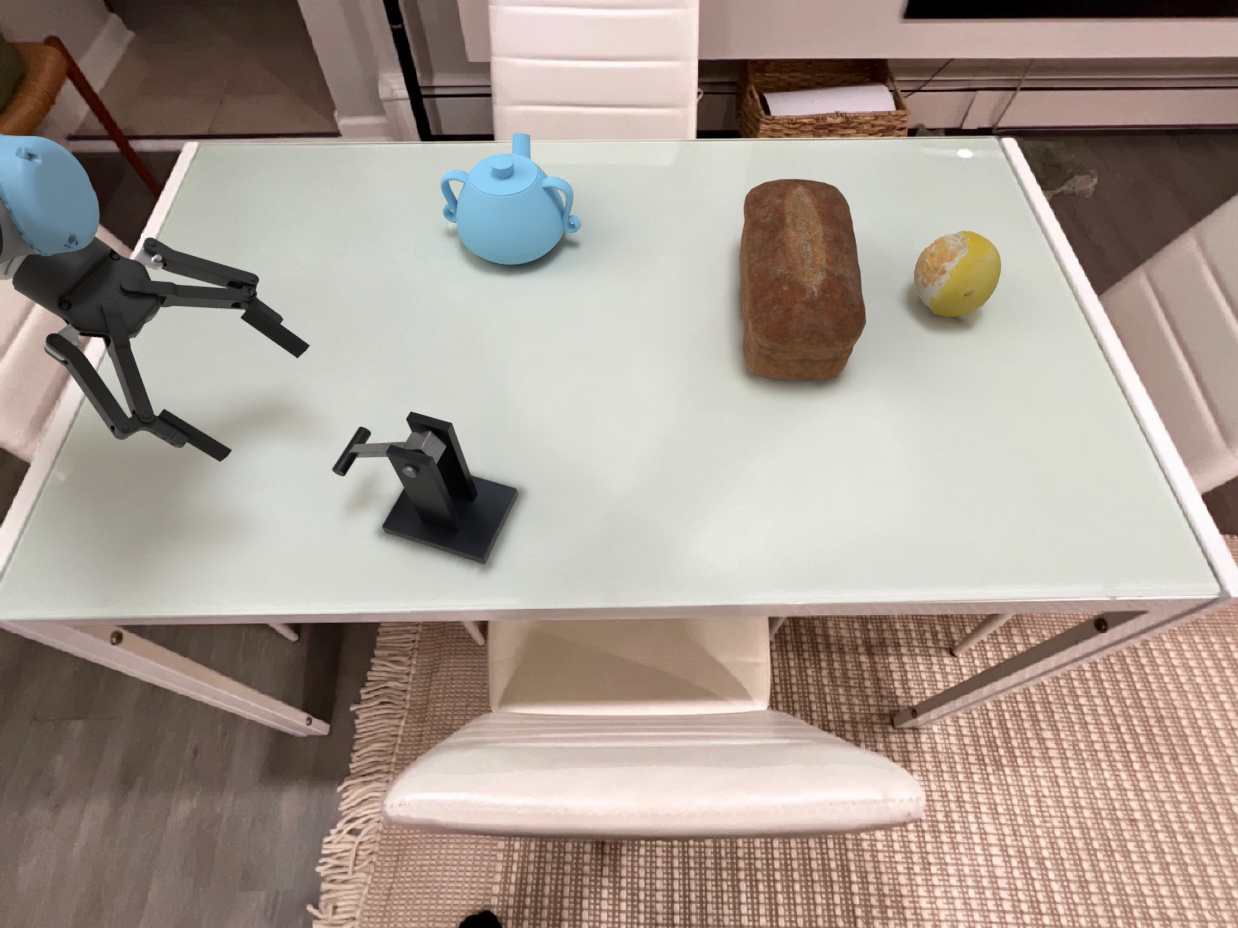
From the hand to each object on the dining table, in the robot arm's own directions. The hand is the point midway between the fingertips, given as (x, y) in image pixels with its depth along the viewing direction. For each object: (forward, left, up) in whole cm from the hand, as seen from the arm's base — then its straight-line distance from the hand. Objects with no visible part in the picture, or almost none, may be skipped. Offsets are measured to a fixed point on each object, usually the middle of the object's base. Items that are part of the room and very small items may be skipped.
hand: (267, 401), depth 70 cm
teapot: (+43, +18, -13) cm, 48 cm away
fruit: (+76, -32, -13) cm, 83 cm away
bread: (+60, -19, -13) cm, 64 cm away
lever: (+7, -12, -4) cm, 14 cm away
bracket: (+9, -15, -13) cm, 22 cm away
